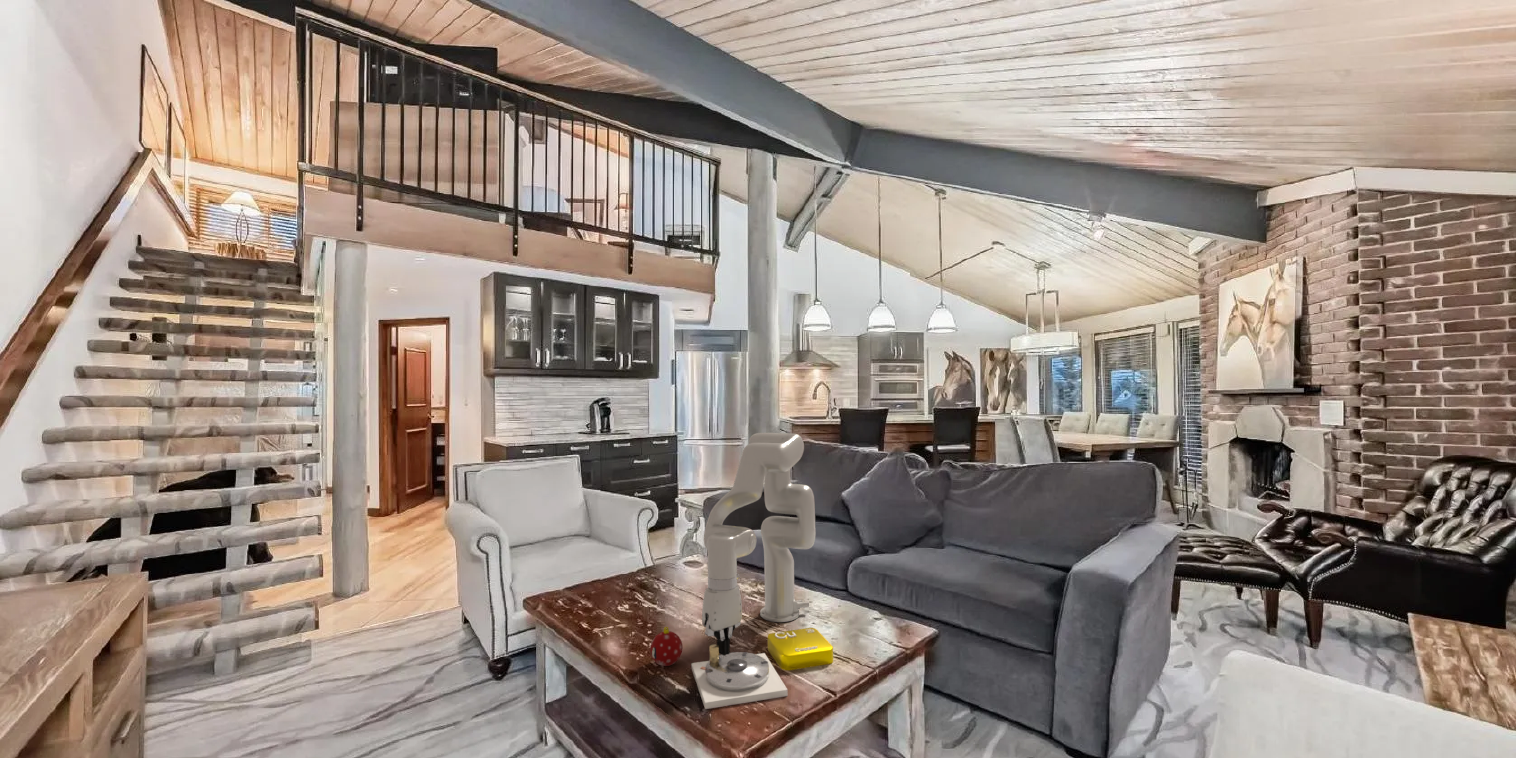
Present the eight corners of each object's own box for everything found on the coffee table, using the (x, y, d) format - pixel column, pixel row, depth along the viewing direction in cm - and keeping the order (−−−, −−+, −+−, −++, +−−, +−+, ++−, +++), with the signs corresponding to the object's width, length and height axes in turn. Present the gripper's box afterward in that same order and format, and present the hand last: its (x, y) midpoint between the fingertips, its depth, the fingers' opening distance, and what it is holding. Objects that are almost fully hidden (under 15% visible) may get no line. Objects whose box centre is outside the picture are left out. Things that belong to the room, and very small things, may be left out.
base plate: (764, 658, 162) (764, 652, 162) (787, 695, 143) (787, 688, 143) (691, 668, 157) (691, 662, 157) (705, 709, 138) (705, 701, 138)
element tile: (782, 673, 155) (782, 654, 155) (765, 648, 170) (765, 631, 170) (835, 664, 160) (835, 646, 160) (814, 641, 174) (814, 624, 174)
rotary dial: (775, 663, 156) (774, 638, 156) (760, 694, 141) (760, 667, 141) (716, 656, 160) (716, 632, 160) (696, 687, 144) (695, 660, 144)
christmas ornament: (689, 664, 160) (688, 627, 160) (662, 675, 154) (661, 636, 154) (670, 654, 166) (670, 618, 166) (644, 664, 160) (643, 627, 160)
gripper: (736, 572, 162) (737, 639, 162) (690, 585, 152) (691, 657, 152) (754, 579, 156) (755, 649, 156) (707, 593, 147) (708, 667, 147)
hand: (723, 653), depth 154 cm, fingers closed
